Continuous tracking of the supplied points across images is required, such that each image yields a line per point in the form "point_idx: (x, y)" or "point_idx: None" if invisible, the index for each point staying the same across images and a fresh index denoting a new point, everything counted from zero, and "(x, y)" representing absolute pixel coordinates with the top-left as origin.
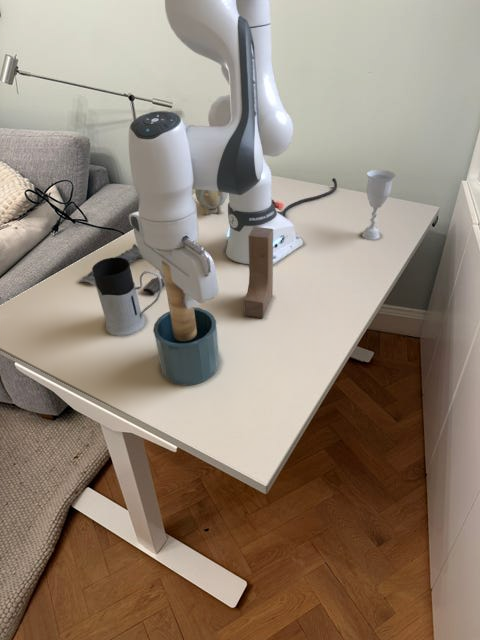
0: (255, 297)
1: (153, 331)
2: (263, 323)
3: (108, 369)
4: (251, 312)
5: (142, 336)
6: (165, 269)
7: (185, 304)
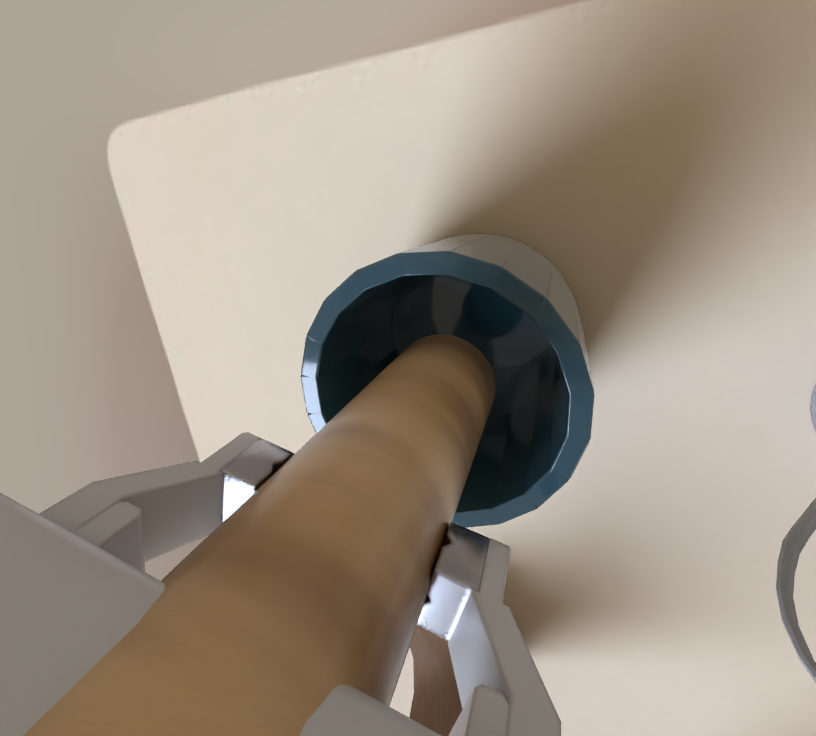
0: (432, 641)
1: (543, 295)
2: None
3: (785, 115)
4: None
5: (765, 364)
6: None
7: (242, 448)
